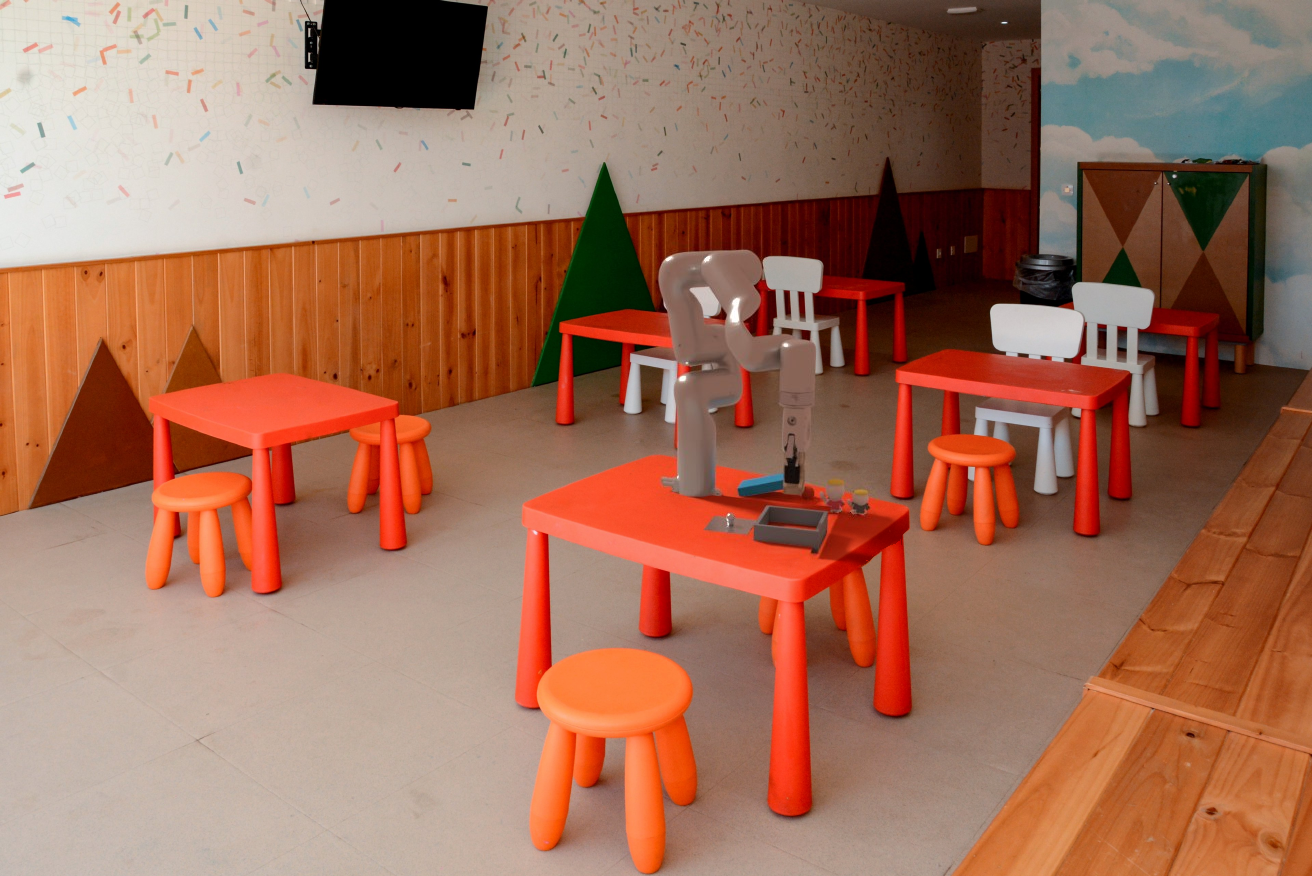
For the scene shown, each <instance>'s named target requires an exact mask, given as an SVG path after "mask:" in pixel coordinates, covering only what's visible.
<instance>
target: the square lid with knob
mask: <svg viewBox="0 0 1312 876" xmlns="http://www.w3.org/2000/svg"><path fill="white" fill-rule="evenodd" d="M756 521H757V519H747V518H741V517H740V518H739V517H736V515H735V514H734V513H732V512H729V513H727V514H726V516H721V515H714V516H713V517H712V518H711V520H709V522H708V523H707V524H706V525H705V526H704V528H703V531H709V532H718V533H726V534H737V535H743V536H744V535H746V536H747V535H749V533H750V532H751V530H752V529H753V528H754V524H755V522H756Z"/></svg>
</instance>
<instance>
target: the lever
mask: <svg viewBox="0 0 1312 876" xmlns="http://www.w3.org/2000/svg"><path fill="white" fill-rule="evenodd" d="M783 473H784V472H782V473H775V474H771V475H766V476H761V477H756V478H750V479H745V480H741V483H740V484H739V485H738V486H737V488H736V489H737V493H738V496H739V497H740V496H744V497H743V498H745V497H750V496H755V495H760V494H761V495H762V494H766V493H771V492H772V493H773V492H777V491H783ZM800 496H801V497H802V498H803V499H804V500H807V499H809V500H812V499H813V498H814V496H815V489H814V488H813V487H812V486H809V485H805V488H804V491H803V493H802V495H800Z"/></svg>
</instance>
